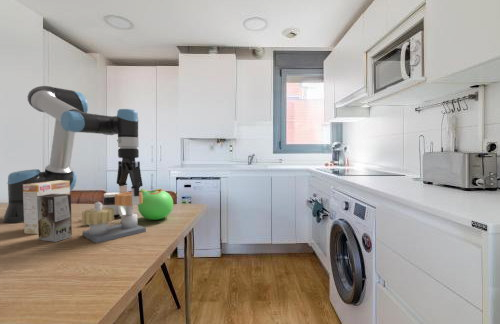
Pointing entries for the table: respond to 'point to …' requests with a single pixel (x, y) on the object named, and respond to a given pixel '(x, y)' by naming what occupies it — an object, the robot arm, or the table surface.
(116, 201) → the orange gear
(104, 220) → the gear board
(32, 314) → the table surface
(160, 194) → the green teapot
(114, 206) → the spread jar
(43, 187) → the coffeecake box
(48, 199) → the coffee box
